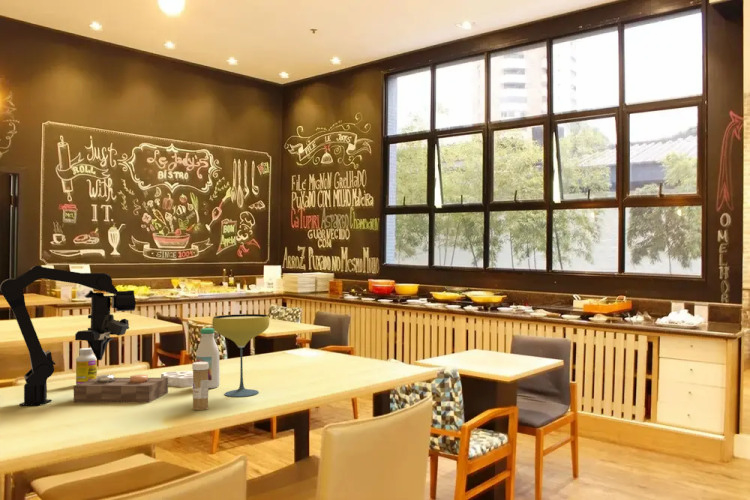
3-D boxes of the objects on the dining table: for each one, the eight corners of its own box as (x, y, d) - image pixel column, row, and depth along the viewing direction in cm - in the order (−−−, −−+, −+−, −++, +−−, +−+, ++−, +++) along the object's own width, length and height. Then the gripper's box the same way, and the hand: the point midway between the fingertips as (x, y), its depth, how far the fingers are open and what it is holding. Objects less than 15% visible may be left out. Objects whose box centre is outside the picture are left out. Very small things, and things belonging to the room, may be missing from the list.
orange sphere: (143, 394, 192) (143, 377, 192) (127, 394, 192) (127, 377, 193) (150, 391, 197) (150, 374, 197) (134, 391, 198) (134, 374, 198)
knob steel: (109, 394, 193) (109, 377, 193) (93, 394, 193) (93, 377, 193) (117, 391, 198) (117, 374, 198) (101, 391, 198) (101, 374, 199)
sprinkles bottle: (189, 409, 178) (189, 362, 178) (203, 406, 181) (202, 360, 182) (198, 411, 175) (198, 364, 175) (212, 408, 178) (211, 362, 179)
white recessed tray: (214, 383, 219) (176, 390, 208) (188, 377, 231) (151, 383, 220) (214, 374, 219) (176, 380, 208) (188, 368, 231) (151, 374, 220)
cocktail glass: (210, 390, 204) (209, 315, 205) (264, 386, 210) (263, 313, 211) (216, 401, 187) (215, 319, 188) (275, 396, 193) (274, 317, 194)
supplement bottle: (88, 387, 213) (88, 350, 213) (71, 386, 214) (71, 349, 215) (100, 383, 219) (100, 347, 220) (84, 383, 221) (84, 347, 221)
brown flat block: (149, 402, 187) (149, 386, 188) (73, 402, 189) (73, 386, 189) (167, 392, 201) (167, 377, 202) (97, 392, 203) (97, 377, 203)
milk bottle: (210, 383, 216) (210, 326, 217) (224, 386, 211) (223, 328, 212) (191, 387, 210) (191, 328, 211) (205, 390, 205) (204, 330, 206)
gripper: (108, 313, 188) (107, 365, 188) (138, 310, 207) (137, 356, 206) (74, 313, 190) (73, 364, 189) (107, 309, 208) (105, 356, 207)
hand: (99, 360), depth 198 cm, fingers closed
